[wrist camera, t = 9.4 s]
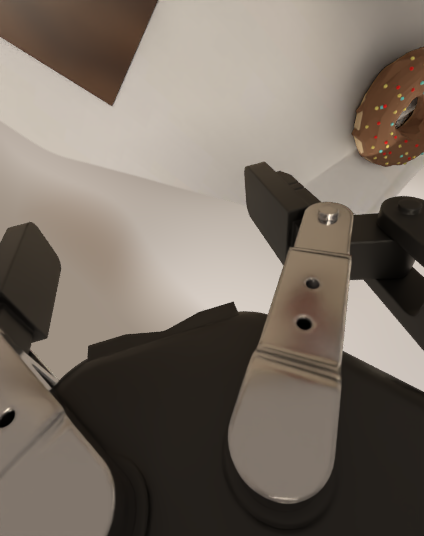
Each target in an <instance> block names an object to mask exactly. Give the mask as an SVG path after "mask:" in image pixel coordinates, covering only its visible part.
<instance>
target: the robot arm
mask: <svg viewBox="0 0 424 536" xmlns="http://www.w3.org/2000/svg"><path fill="white" fill-rule="evenodd" d="M244 175H245V190H246V204H247V209H248V212H249V215H250V217H251V219H252V220H253V221H254V223H255V225H256V226H257V227H258V229H259V230H260V232H261V233H262V235H263V236H264V238H265V239H266V240H267V242H268V243H269V245H270V246H271V248H272V249H273V251H274V252H275V254H276V255H277V257H278V258H279V259H280V261H281V262H282V264H283V265H284V266H283V269H282V273H281V275H280V279H279V282H278V285H277V288H276V291H275V294H274V297H273V301H272V304H271V307H270V310H269V313H268V315H267V314H263V313H258V312H246V311H245V312H244V311H243V312H238V311H237V309H236V307H235V304H234V302H231V303H227V304H224V305H221V306H218V307H214V308H211V309H208V310H204V311H201V312H198V313H197V314H195V315H193V316H191V317H189V318H187V319H186V320H184V321H182V322H180V323H179V324H177V325H175V326H173V327H171V328H169V329H167V330H165V331H161V332H151V333H138V334H126V335H122V336H119V337H116V338H113V339H109V340H106V341H103V342H99V343H96V344H93V345H90V346H88V359H86V360H84V361H83V362H81V363H80V364H78V365H77V366H75V367H74V368H73V369H71V370H70V371H69V372H68V373H67V374H65V375H64V376H63V377H62V378H61V379H60V380H59V379H58V378H57V377H56V376H55V375H54V374H53V373H52V372H51V370H49V368H48V367H47V366H46V365H45V364H44V363H43V362H42V361H41V360H40V358H39V357H38V356H37V355H36V354H35V353H34V352H33V351H32V350H30V347H31V343H33V342H36V341H40V340H43V339H46V338H47V337H48V332H49V327H50V322H51V317H52V312H53V307H54V302H55V297H56V292H57V287H58V282H59V276H60V272H61V264H60V261H59V258H58V256H57V254H56V253H55V252H54V250H53V249H52V247H51V246H50V244H49V243H48V241H47V240H46V239H45V237H44V236H43V234H42V233H41V231H40V230H39V228H38V227H37V226H36V225H35V224H34V223H32V222H29V223H25V224H21V225H17V226H13V227H10V228H8V229H7V230H6V233H5V234H4V236H3V239H2V241H1V243H0V536H424V392H423V391H421V390H419V389H417V388H415V387H413V386H411V385H409V384H407V383H405V382H403V381H401V380H399V379H397V378H395V377H393V376H391V375H389V374H387V373H385V372H383V371H381V370H379V369H377V368H375V367H374V366H372V365H369V364H367V363H366V362H364V361H362V360H360V359H358V358H356V357H354V356H352V355H350V354H348V353H346V352H344V351H343V341H344V331H345V320H346V311H347V301H348V291H349V281H350V280H364V281H365V282H366V283H367V284H368V286H369V287H370V288H371V289H372V290H373V291H374V293H375V294H376V295H377V296H378V297H379V298H380V300H381V301H382V302H383V303H384V304H385V305H386V307H387V308H388V309H389V310H390V311H391V313H392V314H393V315H394V316H395V317H396V319H398V321H399V322H400V323H401V324H402V326H403V327H404V328H405V329H406V330H407V332H408V333H409V334H410V335H411V336H412V337H413V339H414V340H415V341H416V342H417V343H418V345H419V346H420V347H421V348H422V349H423V350H424V277H423V276H422V275H421V274H420V273H419V272H417V271H416V270H415V269H414V268H413V267H412V266H413V264H414V262H415V260H416V261H417V262H419V263H420V264H421V265H422V266H423V267H424V200H422V199H419V198H415V197H407V196H399V197H392V198H389V199H387V200H385V201H384V202H383V203H382V205H381V208H380V211H379V213H377V214H362V215H353V212H352V211H351V210H350V209H349V208H348V207H346V206H344V205H342V204H339V203H334V202H321V201H319V200H318V199H317V198H316V197H315V196H314V195H313V194H312V193H310V192H309V191H308V190H307V189H306V188H304V186H303V185H302V184H300V183H298V181H297V180H296V179H295V178H294V177H293V176H291V175H289V174H287V173H284V172H281V171H278V172H275V171H274V170H273V169H272V168H271V167H270V166H269V165H268V164H267V163H266V162H261V163H258V164H254V165H250V166H246V167H245V171H244Z"/></svg>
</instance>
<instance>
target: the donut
mask: <svg viewBox="0 0 424 536" xmlns="http://www.w3.org/2000/svg"><path fill="white" fill-rule="evenodd" d="M416 97H417V105H416V107H415V109H414V111H413V113H412V115H411V116H410V118H409V119H408V120H407V121H406V122H405V123H404V124H403V125H402V126H401V127H399V128H397V129H396V128H395V123H396V121H397V119H398V118H399V116H400V114H401V113H402V111H405V110H406V108H407V107H408V106H409V104H410V103H411V101H412V100H413V99H415V98H416ZM356 113H357V116H356V120H355V124H354V130H353V132H352V135H353V136H354V139H355V143H356V146H357V148H358V150H359V154H360V155H361V156H362V157H364V158H365V159H366V160H368V161H370V162H372V163H375V164H378V165H381V166H385V167H387V166H392V165H402V164H404V165H405V164H406V162H408V161H410V160H412V159H414V158H416V157H417V156H419V155H420V154H421V155H423V152H424V47H420V48H419V49H415V50H413V51H410V52H408V53H406V54H405V55H403V56H402V57H400V58H399V59H397V60H396V61H394V62H393V63H391V64H389V65H388V66H386V67H385V68H384V69H383V70H382V71H381V72H380V73H379V74H378V76H377V77H376V79H375V80H374V82H373V83H372V85H371V86H370V88H369V90H368V91H367V93H366V94H365V96H364V98H363V100H362V103H361V105H360V106H359V108H358V109H357V110H356Z"/></svg>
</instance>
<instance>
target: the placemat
mask: <svg viewBox="0 0 424 536" xmlns="http://www.w3.org/2000/svg"><path fill="white" fill-rule="evenodd" d="M156 3H157V0H0V37H2V38H3V39H5V40H6V41H8V42H10V43H11V44H13V45H15V46H16V47H18V48H19V49H21V50H23V51H24V52H26V53H27V54H29V55H31V56H32V57H34V58H35V59H37V60H39V61H40V62H42V63H44V64H45V65H47V66H48V67H50V68H52V69H53V70H55V71H56V72H58V73H60V74H61V75H63V76H64V77H66V78H68V79H69V80H71V81H73V82H74V83H76V84H77V85H79V86H81V87H82V88H84V89H85V90H87V91H89V92H90V93H92V94H94V95H95V96H97V97H98V98H100V99H102V100H103V101H105V102H106V103H108V104H110V105H111V106H112V105H113V102H114V100H115V98H116V95H117V93H118V91H119V88H120V86H121V84H122V81H123V79H124V77H125V75H126V72H127V70H128V68H129V65H130V63H131V61H132V58H133V56H134V54H135V51H136V49H137V47H138V44H139V42H140V40H141V37H142V35H143V33H144V31H145V28H146V26H147V24H148V21H149V19H150V17H151V14H152V12H153V10H154V7H155V5H156Z"/></svg>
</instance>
